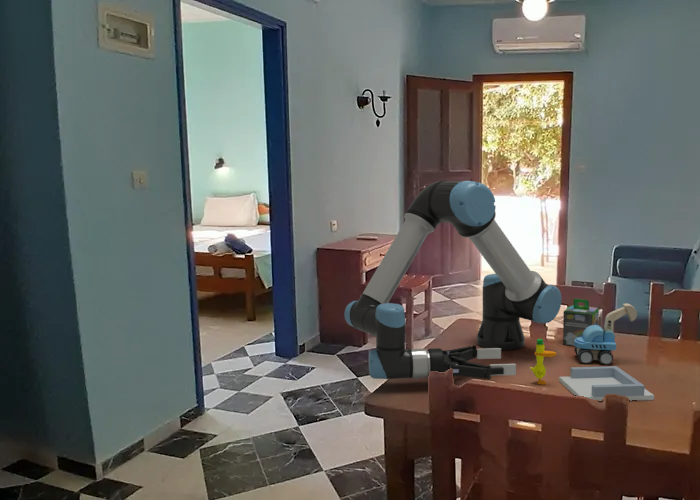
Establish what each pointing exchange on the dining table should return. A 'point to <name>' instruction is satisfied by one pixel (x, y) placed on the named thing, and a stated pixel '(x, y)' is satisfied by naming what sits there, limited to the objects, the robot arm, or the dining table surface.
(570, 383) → the open-sided tray
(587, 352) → the toy excavator
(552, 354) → the toy figure
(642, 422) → the dining table surface
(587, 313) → the chalk box
